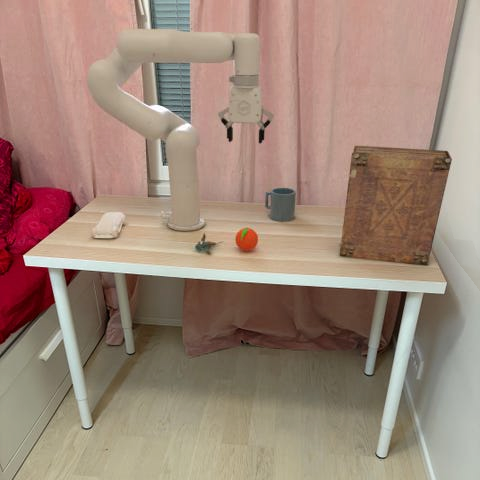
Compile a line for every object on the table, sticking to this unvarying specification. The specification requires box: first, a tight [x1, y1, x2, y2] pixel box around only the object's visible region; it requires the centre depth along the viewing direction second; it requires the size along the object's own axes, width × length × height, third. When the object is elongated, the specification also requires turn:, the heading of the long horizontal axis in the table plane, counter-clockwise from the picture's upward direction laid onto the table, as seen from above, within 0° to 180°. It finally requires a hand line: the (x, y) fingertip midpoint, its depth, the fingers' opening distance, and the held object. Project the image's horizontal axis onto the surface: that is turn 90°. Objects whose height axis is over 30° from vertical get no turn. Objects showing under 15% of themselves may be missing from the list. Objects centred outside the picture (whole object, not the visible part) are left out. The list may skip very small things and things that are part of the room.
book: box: [339, 145, 453, 266], centre depth 136 cm, size 25×9×30 cm, turn 75°
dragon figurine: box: [194, 233, 223, 255], centre depth 147 cm, size 6×7×8 cm
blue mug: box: [264, 187, 297, 222], centre depth 171 cm, size 12×9×10 cm
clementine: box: [234, 227, 259, 252], centre depth 144 cm, size 8×7×7 cm
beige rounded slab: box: [91, 211, 127, 239], centre depth 160 cm, size 18×8×4 cm, turn 179°
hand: (245, 141), depth 150 cm, fingers open, 9 cm apart
